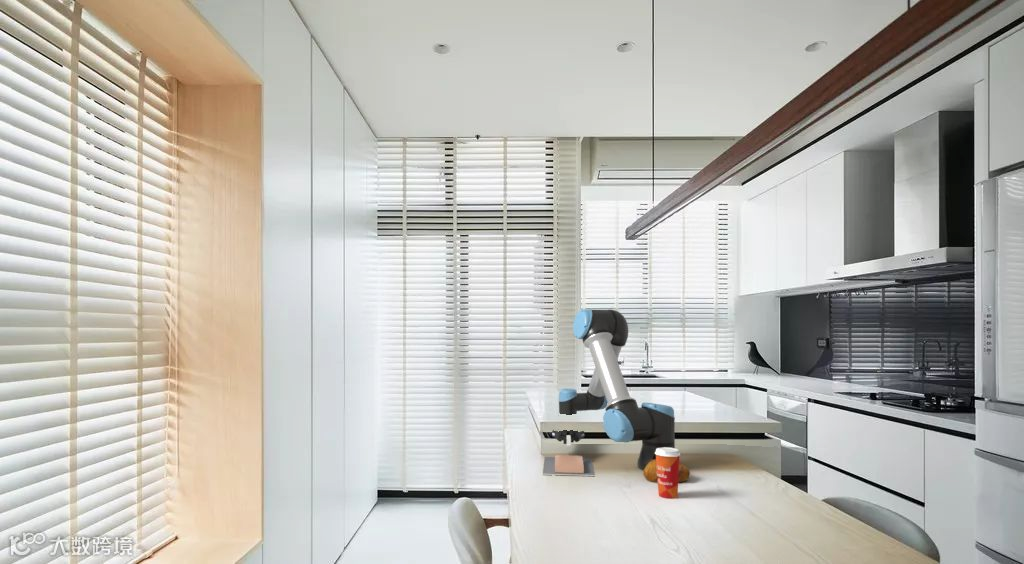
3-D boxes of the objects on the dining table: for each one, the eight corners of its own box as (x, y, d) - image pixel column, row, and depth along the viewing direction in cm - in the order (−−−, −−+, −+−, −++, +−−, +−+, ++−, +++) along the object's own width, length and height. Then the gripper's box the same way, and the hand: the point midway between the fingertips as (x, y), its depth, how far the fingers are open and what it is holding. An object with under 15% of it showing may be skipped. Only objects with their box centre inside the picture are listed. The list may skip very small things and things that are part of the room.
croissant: (692, 491, 194) (695, 467, 194) (645, 484, 195) (648, 459, 195) (681, 478, 209) (684, 456, 209) (637, 471, 209) (640, 449, 210)
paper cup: (649, 494, 183) (649, 448, 184) (669, 491, 186) (669, 446, 187) (666, 501, 176) (666, 453, 177) (686, 497, 179) (686, 451, 180)
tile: (555, 455, 222) (554, 465, 206) (582, 455, 221) (583, 466, 205) (555, 462, 222) (554, 472, 206) (582, 462, 221) (583, 473, 205)
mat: (544, 458, 231) (544, 456, 231) (591, 459, 229) (591, 457, 229) (542, 475, 205) (542, 473, 205) (595, 476, 203) (594, 474, 203)
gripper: (584, 440, 240) (586, 453, 216) (551, 439, 241) (550, 452, 217) (584, 421, 240) (586, 432, 217) (551, 421, 241) (551, 431, 218)
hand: (568, 442), depth 217 cm, fingers closed
